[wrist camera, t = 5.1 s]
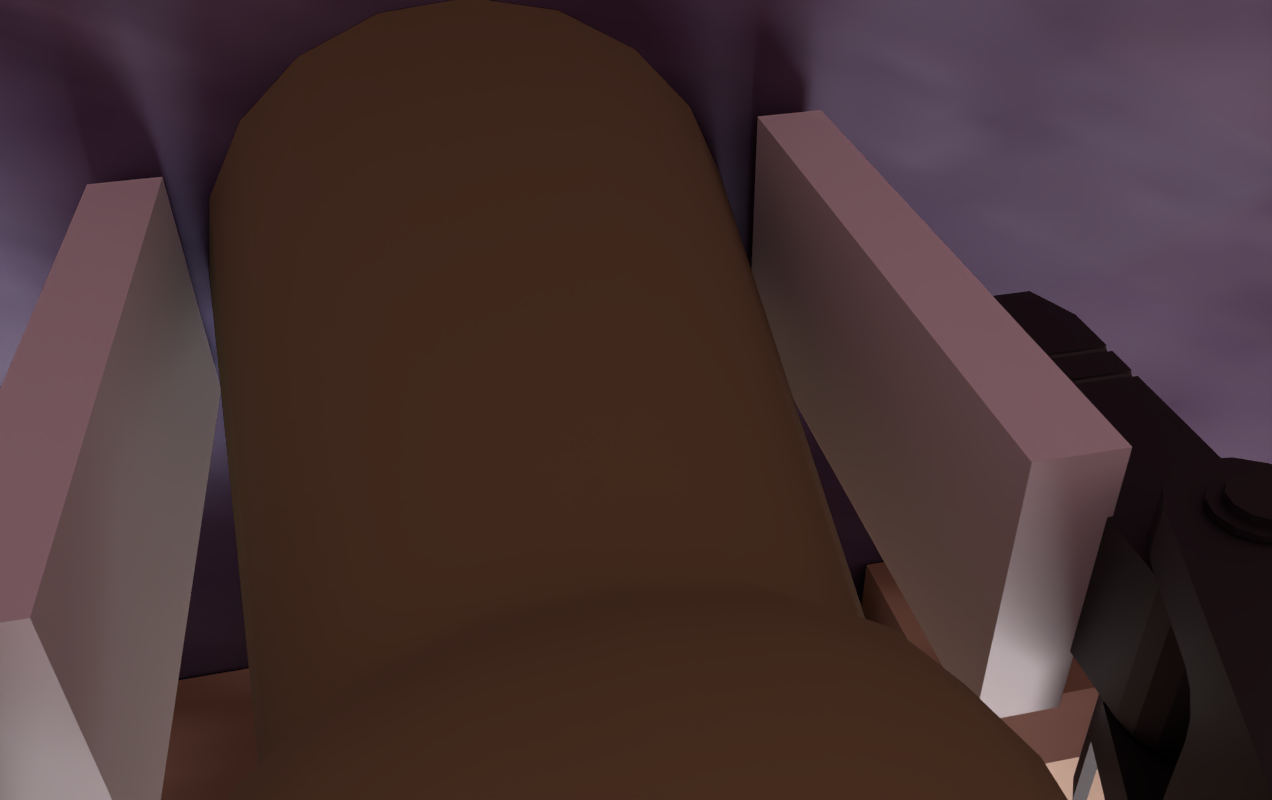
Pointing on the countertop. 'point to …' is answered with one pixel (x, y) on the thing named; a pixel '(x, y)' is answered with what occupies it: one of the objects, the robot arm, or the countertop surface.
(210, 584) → the countertop surface
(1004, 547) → the robot arm
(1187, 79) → the countertop surface
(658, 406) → the cork
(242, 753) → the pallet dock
